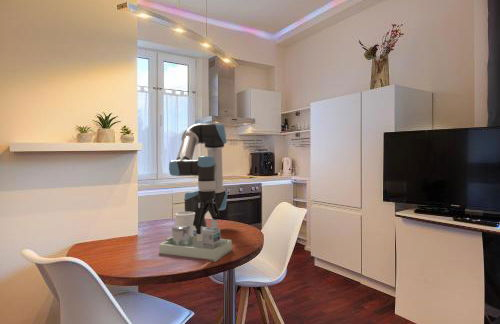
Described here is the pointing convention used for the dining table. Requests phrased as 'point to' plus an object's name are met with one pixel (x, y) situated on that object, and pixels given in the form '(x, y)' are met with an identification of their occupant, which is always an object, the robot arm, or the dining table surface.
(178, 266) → the dining table surface
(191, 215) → the jar
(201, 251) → the tray
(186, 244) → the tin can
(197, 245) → the light bulb box
